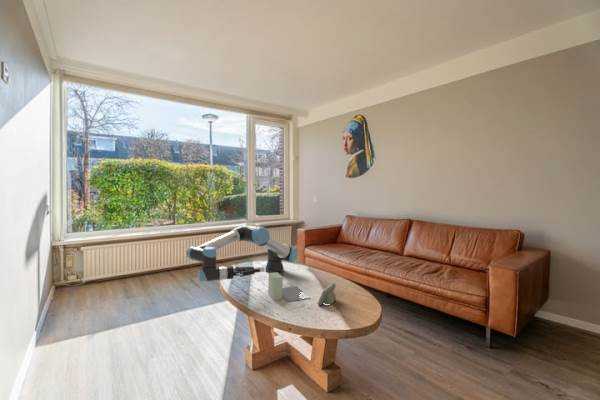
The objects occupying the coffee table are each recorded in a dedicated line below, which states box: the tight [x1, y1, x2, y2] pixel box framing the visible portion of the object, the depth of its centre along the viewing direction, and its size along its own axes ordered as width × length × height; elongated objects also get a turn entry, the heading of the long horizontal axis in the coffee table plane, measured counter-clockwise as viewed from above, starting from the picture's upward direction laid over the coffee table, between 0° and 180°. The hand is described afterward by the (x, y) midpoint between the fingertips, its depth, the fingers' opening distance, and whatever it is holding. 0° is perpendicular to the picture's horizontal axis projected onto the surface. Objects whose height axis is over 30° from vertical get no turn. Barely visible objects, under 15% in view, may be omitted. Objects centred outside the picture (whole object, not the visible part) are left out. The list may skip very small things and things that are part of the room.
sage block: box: [267, 272, 284, 301], centre depth 183 cm, size 6×10×14 cm, turn 24°
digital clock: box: [317, 282, 337, 306], centre depth 177 cm, size 16×9×11 cm, turn 138°
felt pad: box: [282, 285, 304, 303], centre depth 189 cm, size 16×22×1 cm
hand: (264, 269), depth 179 cm, fingers closed
